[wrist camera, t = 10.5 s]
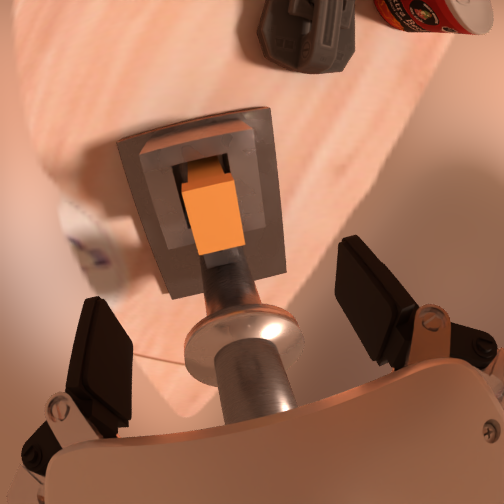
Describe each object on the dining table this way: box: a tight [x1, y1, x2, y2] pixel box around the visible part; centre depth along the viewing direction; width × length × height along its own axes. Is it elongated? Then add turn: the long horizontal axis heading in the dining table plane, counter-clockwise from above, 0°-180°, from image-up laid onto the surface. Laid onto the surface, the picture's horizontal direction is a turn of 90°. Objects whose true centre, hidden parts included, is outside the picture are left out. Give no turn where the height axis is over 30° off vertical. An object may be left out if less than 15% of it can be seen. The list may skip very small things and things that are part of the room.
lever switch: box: [117, 107, 304, 425], centre depth 21 cm, size 19×14×21 cm
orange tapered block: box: [182, 155, 245, 255], centre depth 21 cm, size 4×3×10 cm
